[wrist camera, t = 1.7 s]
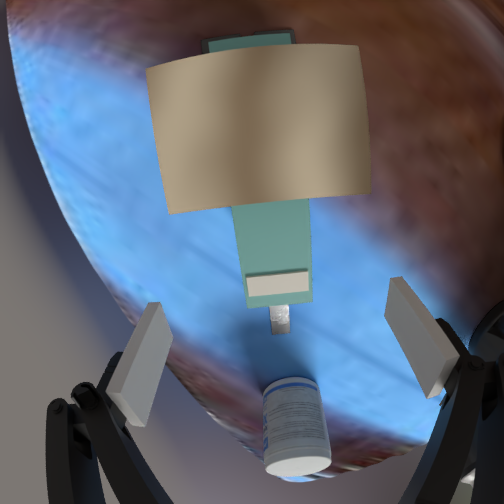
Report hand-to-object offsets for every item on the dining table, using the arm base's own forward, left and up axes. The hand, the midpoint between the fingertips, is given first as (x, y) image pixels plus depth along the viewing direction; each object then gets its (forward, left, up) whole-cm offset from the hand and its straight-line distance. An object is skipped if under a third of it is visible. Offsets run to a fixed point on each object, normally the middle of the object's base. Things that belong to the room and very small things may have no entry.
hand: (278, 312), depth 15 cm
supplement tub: (-1, +30, -17) cm, 35 cm away
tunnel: (0, -10, -17) cm, 19 cm away
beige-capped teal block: (0, -6, -16) cm, 17 cm away
